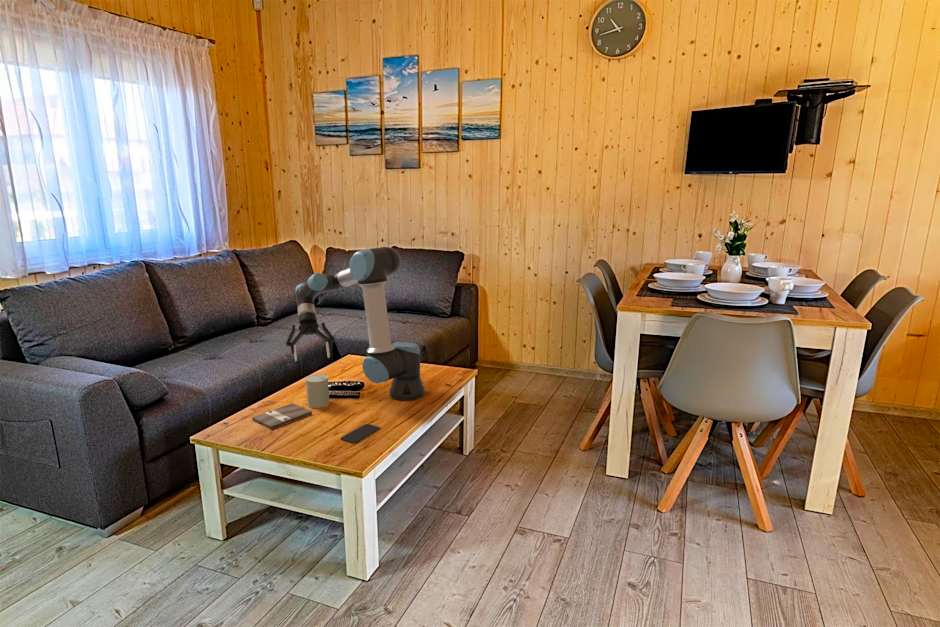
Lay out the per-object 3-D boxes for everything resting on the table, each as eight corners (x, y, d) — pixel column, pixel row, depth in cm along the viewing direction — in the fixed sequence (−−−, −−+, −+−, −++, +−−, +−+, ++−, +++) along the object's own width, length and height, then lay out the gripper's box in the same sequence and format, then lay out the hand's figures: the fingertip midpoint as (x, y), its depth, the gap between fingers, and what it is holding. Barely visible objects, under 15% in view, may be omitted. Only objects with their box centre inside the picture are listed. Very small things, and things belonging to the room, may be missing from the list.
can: (323, 409, 226) (322, 381, 224) (302, 407, 228) (300, 379, 225) (333, 400, 235) (332, 373, 232) (313, 398, 237) (311, 372, 234)
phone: (381, 427, 210) (354, 443, 197) (381, 429, 210) (354, 445, 197) (366, 423, 213) (339, 438, 201) (366, 425, 213) (339, 440, 201)
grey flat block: (311, 414, 222) (311, 410, 221) (271, 429, 208) (271, 425, 208) (292, 405, 230) (292, 402, 229) (252, 420, 216) (252, 416, 216)
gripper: (335, 317, 255) (341, 358, 245) (277, 322, 246) (282, 365, 236) (336, 309, 249) (342, 351, 239) (277, 313, 240) (281, 357, 230)
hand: (312, 358), depth 238 cm, fingers open, 13 cm apart
